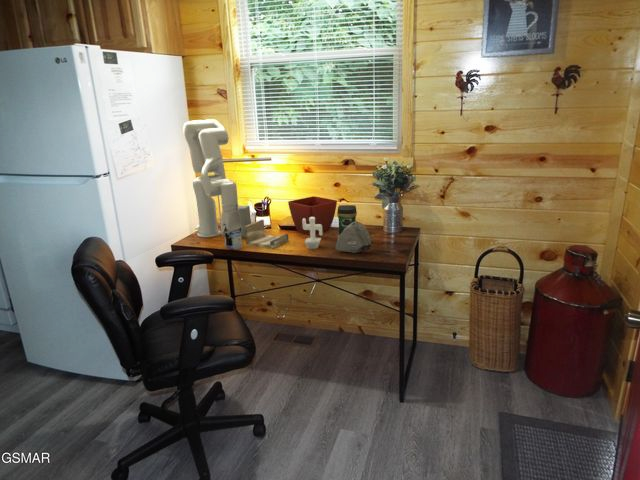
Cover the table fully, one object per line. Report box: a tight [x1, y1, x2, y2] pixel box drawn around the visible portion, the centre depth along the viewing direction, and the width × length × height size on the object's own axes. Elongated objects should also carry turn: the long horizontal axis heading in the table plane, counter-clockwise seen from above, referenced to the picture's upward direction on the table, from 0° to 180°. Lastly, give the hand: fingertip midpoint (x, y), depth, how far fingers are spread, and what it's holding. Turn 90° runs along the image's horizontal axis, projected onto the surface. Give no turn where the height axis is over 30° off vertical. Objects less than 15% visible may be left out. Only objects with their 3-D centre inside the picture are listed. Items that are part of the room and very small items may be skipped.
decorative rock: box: [335, 220, 372, 254], centre depth 214 cm, size 16×7×15 cm, turn 74°
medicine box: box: [224, 230, 243, 251], centre depth 227 cm, size 8×4×9 cm, turn 47°
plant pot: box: [287, 195, 338, 236], centre depth 249 cm, size 19×19×17 cm
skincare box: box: [238, 205, 252, 239], centre depth 246 cm, size 8×7×16 cm
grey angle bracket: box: [245, 219, 289, 249], centre depth 234 cm, size 16×14×10 cm
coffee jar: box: [336, 204, 358, 238], centre depth 230 cm, size 10×8×19 cm
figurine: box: [302, 217, 323, 250], centre depth 223 cm, size 7×9×15 cm
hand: (233, 243), depth 228 cm, fingers closed on medicine box, 5 cm apart
